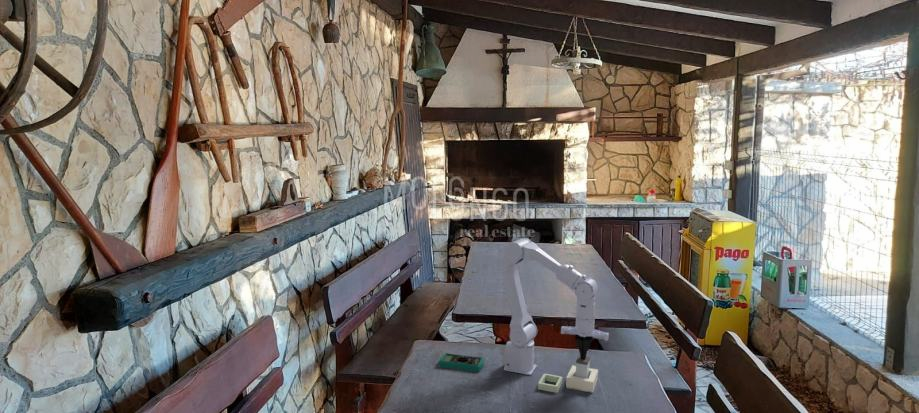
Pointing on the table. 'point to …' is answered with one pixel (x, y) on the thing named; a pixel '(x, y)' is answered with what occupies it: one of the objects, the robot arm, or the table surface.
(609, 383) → the table surface
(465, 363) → the digital multimeter
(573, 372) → the frame
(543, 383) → the pale green rectangular frame
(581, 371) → the plug
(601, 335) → the robot arm
